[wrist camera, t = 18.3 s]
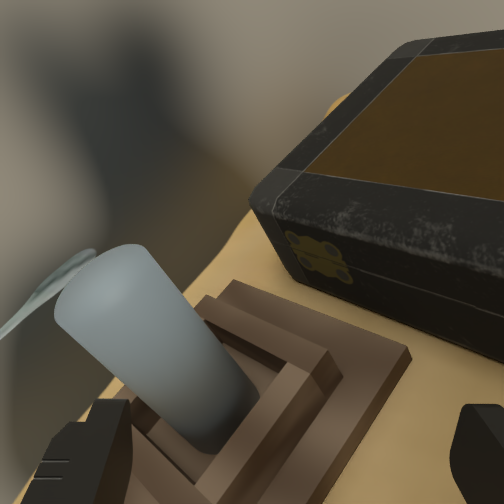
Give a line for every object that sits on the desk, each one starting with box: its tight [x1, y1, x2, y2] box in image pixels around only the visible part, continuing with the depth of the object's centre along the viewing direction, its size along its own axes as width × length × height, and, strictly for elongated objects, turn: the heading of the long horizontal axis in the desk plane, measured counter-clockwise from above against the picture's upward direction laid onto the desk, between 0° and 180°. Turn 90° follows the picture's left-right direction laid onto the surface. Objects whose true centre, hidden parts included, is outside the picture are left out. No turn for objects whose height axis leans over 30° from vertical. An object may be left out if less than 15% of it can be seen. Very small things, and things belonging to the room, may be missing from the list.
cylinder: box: [54, 244, 260, 455], centre depth 22 cm, size 5×5×11 cm
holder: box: [112, 279, 412, 504], centre depth 25 cm, size 16×14×4 cm
